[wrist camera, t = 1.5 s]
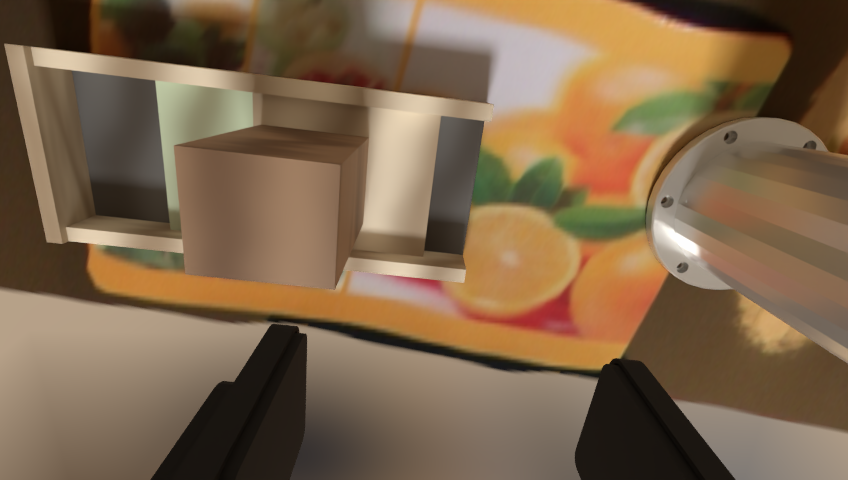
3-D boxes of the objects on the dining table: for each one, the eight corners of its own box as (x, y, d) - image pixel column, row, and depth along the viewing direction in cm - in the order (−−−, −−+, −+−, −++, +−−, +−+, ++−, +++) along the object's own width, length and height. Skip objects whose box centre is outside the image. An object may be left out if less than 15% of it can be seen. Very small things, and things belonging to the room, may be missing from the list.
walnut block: (369, 137, 27) (340, 164, 18) (363, 223, 29) (334, 289, 20) (261, 124, 27) (173, 145, 17) (262, 212, 29) (185, 274, 19)
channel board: (486, 102, 28) (495, 105, 24) (460, 265, 32) (464, 285, 29) (56, 49, 26) (4, 43, 23) (87, 225, 31) (47, 241, 27)
